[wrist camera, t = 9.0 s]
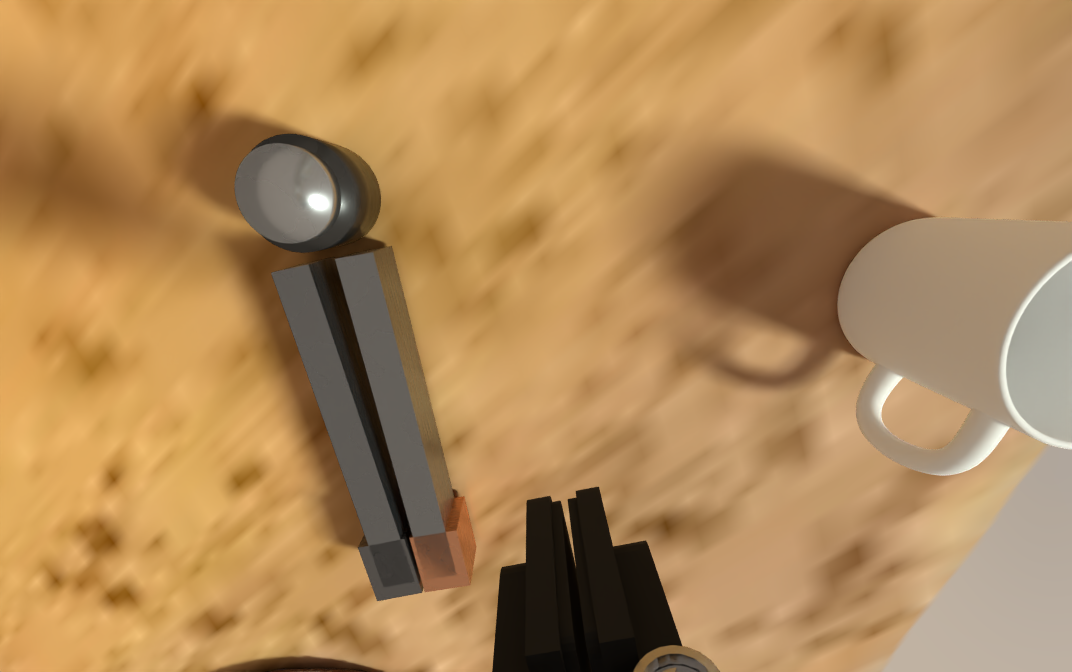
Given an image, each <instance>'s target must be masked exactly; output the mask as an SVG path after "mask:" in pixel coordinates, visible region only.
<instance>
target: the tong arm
mask: <svg viewBox="0 0 1072 672" xmlns="http://www.w3.org/2000/svg"><path fill="white" fill-rule="evenodd" d="M235 196H236V200H237V204H238V207H239V209H240V211H241V213H242V215H243V216H244V218H245V219H246V221H247V222H248V223H249V224H250V226H251V227H252V228H254V229H255V230H256V231H257V232H258V233H260V234H261V235H263V236H264V237H266V238H268V239H271V240H273V241H276V242H280V243H300V242H306V241H310V240H314V239H317V238H319V237H321V236H322V235H324V234H325V233H327V232H328V231H329V230H330V229H331V228H332V226H333V225H334V224H335V222H336V220H337V218H338V216H339V213H340V208H341V191H340V186H339V183H338V180H337V178H336V176H335V174H334V173H333V171H332V169H331V168H330V167H329V166H328V164H327V163H326V162H325V161H324V160H323V159H322V158H320V157H319V156H318V155H316V154H315V153H313V152H311V151H309V150H307V149H304V148H301V147H297V146H293V145H288V144H283V143H272V144H266V145H263V146H260V147H258V148H256V149H254V150H253V151H251V152H250V153H249V154H248V155H247V156H246V157H245V158H244V159H243V161H242V162H241V164H240V166H239V168H238V170H237V174H236V177H235ZM335 261H336V265H337V268H338V272H339V275H340V279H341V282H342V286H343V289H344V293H345V297H346V300H347V304H348V307H349V311H350V314H351V318H352V322H353V325H354V329H355V332H356V336H357V339H358V343H359V346H360V350H361V354H362V357H363V361H364V364H365V368H366V371H367V375H368V378H369V382H370V386H371V389H372V393H373V396H374V400H375V403H376V407H377V411H378V414H379V418H380V421H381V425H382V428H383V432H384V435H385V439H386V443H387V446H388V450H389V453H390V457H391V460H392V464H393V468H394V471H395V475H396V478H397V482H398V485H399V489H400V492H401V496H402V500H403V503H404V507H405V510H406V514H407V517H408V521H409V525H410V528H411V535H410V542H411V545H412V549H413V552H414V556H415V559H416V563H417V566H418V570H419V573H420V577H421V580H422V584H423V587H424V591H425V592H429V591H436V590H442V589H449V588H455V587H462V586H468V585H470V584H471V578H472V571H473V565H474V559H475V552H476V543H475V539H474V535H473V531H472V526H471V522H470V518H469V514H468V510H467V506H466V502H465V498H464V496H463V497H457V498H454V494H453V490H452V486H451V482H450V478H449V474H448V470H447V466H446V462H445V458H444V454H443V450H442V446H441V442H440V438H439V434H438V430H437V426H436V422H435V418H434V414H433V410H432V406H431V402H430V398H429V394H428V390H427V386H426V382H425V378H424V374H423V370H422V366H421V362H420V358H419V354H418V350H417V346H416V342H415V337H414V333H413V329H412V325H411V321H410V317H409V313H408V309H407V305H406V301H405V297H404V293H403V289H402V285H401V281H400V277H399V273H398V269H397V265H396V261H395V257H394V253H393V249H392V246H390V247H384V248H379V249H373V250H368V251H362V252H357V253H354V254H350V255H347V256H344V257H340V258H337V259H335Z"/></svg>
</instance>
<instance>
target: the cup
mask: <svg viewBox="0 0 1072 672" xmlns="http://www.w3.org/2000/svg"><path fill="white" fill-rule="evenodd" d="M837 309H838V318H839V322H840V325H841V328H842V331H843V333H844V335H845V337H846V338H847V340H848V341H849V343H850V344H851V345H852V347H853V348H854V349H855V350H856V351H857V352H859V353H860V354H861V355H862V356H864V357H865V358H867V359H868V360H870V361H871V362H873V363H875V366H874V367H873V369H872V370H871V372H870V373H869V375H868V377H867V378H866V380H865V382H864V384H863V386H862V388H861V390H860V392H859V395H858V398H857V403H856V418H857V422H858V425H859V428H860V430H861V432H862V434H863V435H864V436H865V438H866V439H867V440H868V441H869V443H870V444H872V445H873V446H874V447H875V448H876V449H877V450H878V451H880V452H881V453H882V454H884V455H885V456H886V457H888V458H890V459H891V460H893V461H895V462H897V463H899V464H901V465H903V466H905V467H907V468H910V469H913V470H916V471H919V472H923V473H927V474H933V475H953V474H958V473H962V472H964V471H967V470H970V469H971V468H973V467H975V466H977V465H978V464H979V463H981V462H982V461H983V460H984V459H985V458H986V457H987V456H988V455H989V454H990V453H991V452H992V451H993V450H994V448H995V447H996V446H997V445H998V443H999V442H1000V440H1001V439H1002V438H1003V436H1004V435H1005V433H1006V432H1007V430H1008V429H1009V428H1010V427H1012V428H1014V429H1015V430H1017V431H1020V432H1022V433H1024V434H1026V435H1028V436H1030V437H1032V438H1034V439H1036V440H1038V441H1041V442H1043V443H1045V444H1048V445H1051V446H1055V447H1059V448H1065V449H1072V222H1065V221H1037V220H1009V219H982V218H954V217H932V218H922V219H915V220H911V221H907V222H904V223H901V224H898V225H896V226H894V227H891V228H889V229H887V230H886V231H884V232H882V233H880V234H879V235H878V236H876V237H875V238H873V239H872V240H871V241H870V242H868V243H867V244H866V245H865V246H864V247H863V248H862V249H861V250H860V251H859V253H858V254H857V255H856V256H855V258H854V259H853V260H852V262H851V263H850V265H849V267H848V268H847V270H846V272H845V274H844V277H843V279H842V282H841V285H840V289H839V294H838V302H837ZM903 377H904V378H906V379H908V380H910V381H913V382H915V383H917V384H919V385H921V386H923V387H925V388H927V389H930V390H932V391H934V392H936V393H938V394H940V395H942V396H945V397H947V398H949V399H951V400H953V401H955V402H957V403H959V404H962V405H964V406H966V407H968V408H970V409H971V411H970V412H969V414H968V416H967V418H966V419H965V421H964V423H963V424H962V426H961V427H960V429H959V431H958V432H957V434H956V435H955V436H954V438H953V439H952V440H951V441H950V442H949V443H948V444H947V445H946V446H945V447H943V448H941V449H926V448H921V447H918V446H915V445H912V444H910V443H908V442H905V441H904V440H902V439H900V438H898V437H897V436H895V435H894V434H892V433H891V432H890V431H889V430H888V429H887V428H886V427H885V425H884V423H883V422H882V418H881V411H882V407H883V404H884V402H885V400H886V398H887V397H888V395H889V394H890V392H891V391H892V389H893V388H894V387H895V386H896V385H897V383H898V382H899V381H900V380H901V379H902V378H903Z"/></svg>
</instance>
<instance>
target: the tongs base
mask: <svg viewBox="0 0 1072 672" xmlns="http://www.w3.org/2000/svg"><path fill="white" fill-rule="evenodd" d="M272 143H283V144H288V145H293V146H297V147H301V148H304V149H307V150H309V151H311V152H313V153H315V154H316V155H318V156H319V157H320V158H322V159H323V160H324V161H325V162H326V163H327V164H328V166H329V167H330V168H331V169H332V171H333V173H334V174H335V176H336V178H337V180H338V183H339V186H340V191H341V208H340V213H339V216H338V218H337V220H336V222H335V224H334V225H333V226H332V228H331V229H330V230H329V231H328V232H327V233H325V234H324V235H322V236H321V237H319V238H317V239H314V240H310V241H306V242H300V243H280V242H276V241H273V240H271V239H268V238H266V237H264V236H263V235H262V236H263V237H264V238H265V239H266V240H268V241H269V242H271V243H272V244H274V245H276V246H278V247H280V248H283V249H285V250H289V251H293V252H301V253H304V252H314V251H319V250H323V249H328V248H332V247H336V246H341V245H345V244H349V243H352V242H355V241H357V240H359V239H360V238H362V237H364V236H365V235H366V234H367V233H368V232H369V231H370V230H371V229H372V227H373V226H374V224H375V222H376V220H377V218H378V215H379V212H380V206H381V194H380V188H379V184H378V181H377V179H376V177H375V175H374V173H373V171H372V170H371V168H370V167H369V165H368V164H367V163H366V162H365V161H364V160H363V159H362V158H361V157H360V156H358V155H357V154H356V153H354V152H352V151H351V150H349V149H346V148H344V147H341V146H338V145H334V144H331V143H327V142H324V141H320V140H317V139H314V138H310V137H307V136H303V135H297V134H282V135H276V136H273V137H270V138H268V139H266V140H264V141H262V142H261V143H259V144H258V145H257V146H256V147H255V148H254V149H256V148H258V147H260V146H263V145H266V144H272ZM254 149H252V151H253V150H254ZM259 234H260V233H259ZM260 235H261V234H260ZM271 274H272V277H273V280H274V283H275V285H276V288H277V291H278V294H279V296H280V299H281V302H282V305H283V308H284V310H285V313H286V316H287V319H288V322H289V324H290V327H291V330H292V333H293V336H294V338H295V341H296V344H297V347H298V350H299V352H300V355H301V358H302V361H303V364H304V366H305V369H306V372H307V375H308V378H309V380H310V383H311V386H312V389H313V392H314V394H315V397H316V400H317V403H318V406H319V408H320V411H321V414H322V417H323V420H324V422H325V425H326V428H327V431H328V434H329V436H330V439H331V442H332V445H333V448H334V450H335V453H336V456H337V459H338V462H339V464H340V467H341V470H342V473H343V476H344V478H345V481H346V484H347V487H348V490H349V492H350V495H351V498H352V501H353V504H354V506H355V509H356V512H357V515H358V518H359V520H360V523H361V526H362V529H363V532H364V534H365V535H364V537H363V539H362V541H361V543H360V545H359V547H358V549H359V552H360V555H361V558H362V560H363V563H364V566H365V568H366V571H367V574H368V577H369V579H370V582H371V585H372V588H373V590H374V593H375V596H376V599H377V601H381V600H386V599H391V598H396V597H402V596H407V595H412V594H418V593H422V591H423V588H424V587H423V584H422V580H421V577H420V573H419V570H418V566H417V563H416V559H415V556H414V552H413V549H412V545H411V542H410V535H411V528H410V525H409V521H408V517H407V514H406V510H405V507H404V503H403V500H402V496H401V492H400V489H399V485H398V482H397V478H396V475H395V471H394V468H393V464H392V460H391V457H390V453H389V450H388V446H387V443H386V439H385V435H384V432H383V428H382V425H381V421H380V418H379V414H378V411H377V407H376V403H375V400H374V396H373V393H372V389H371V386H370V382H369V378H368V375H367V371H366V368H365V364H364V361H363V357H362V354H361V350H360V346H359V343H358V339H357V336H356V332H355V329H354V325H353V322H352V318H351V314H350V311H349V307H348V304H347V300H346V297H345V293H344V289H343V286H342V282H341V279H340V275H339V272H338V268H337V265H336V261H335V257H332V258H328V259H323V260H319V261H314V262H310V263H305V264H301V265H297V266H294V267H290V268H286V269H283V270H279V271H275V272H272V273H271Z"/></svg>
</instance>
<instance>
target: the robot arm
mask: <svg viewBox="0 0 1072 672" xmlns="http://www.w3.org/2000/svg"><path fill="white" fill-rule="evenodd" d="M576 497H577V498H572V499H568V506H569V514H570V522H571V530H572V538H573V546H574V554H575V562H576V566H575V562H574V557H573V553H572V548H571V544H570V539H569V535H568V531H567V526H566V522H565V517H564V513H563V508H562V504H561V501H556V502H552V499H551V497H550V496H547V497H542V498H536V499H531V500H527V512H526V563H522V564H517V565H511V566H506V567H502V569H501V572H500V582H499V595H498V607H497V620H496V633H495V645H494V658H493V671H492V672H720V671H719V669H718V668H717V667H716V666H715V664H714V663H713V662H712V661H711V660H710V659H709V658H707V657H706V656H705V655H703V654H702V653H700V652H699V651H696V650H693V649H691V648H688V647H685V646H682V644H681V641H680V638H679V635H678V632H677V629H676V626H675V623H674V620H673V617H672V614H671V611H670V608H669V605H668V602H667V599H666V596H665V593H664V590H663V587H662V585H661V582H660V579H659V576H658V573H657V570H656V567H655V564H654V561H653V558H652V555H651V552H650V549H649V546H648V544H647V542H646V541H641V542H636V543H630V544H625V545H619V546H614V547H613V545H612V540H611V536H610V532H609V528H608V524H607V519H606V515H605V511H604V507H603V502H602V498H601V494H600V490H599V487H594V488H589V489H584V490H578V491H576Z"/></svg>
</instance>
